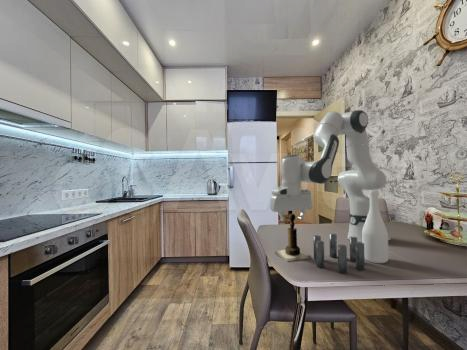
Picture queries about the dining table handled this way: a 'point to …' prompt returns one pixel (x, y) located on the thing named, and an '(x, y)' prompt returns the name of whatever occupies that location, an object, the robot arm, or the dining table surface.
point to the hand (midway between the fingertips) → (291, 220)
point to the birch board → (292, 257)
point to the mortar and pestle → (292, 238)
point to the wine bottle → (375, 233)
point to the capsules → (340, 253)
